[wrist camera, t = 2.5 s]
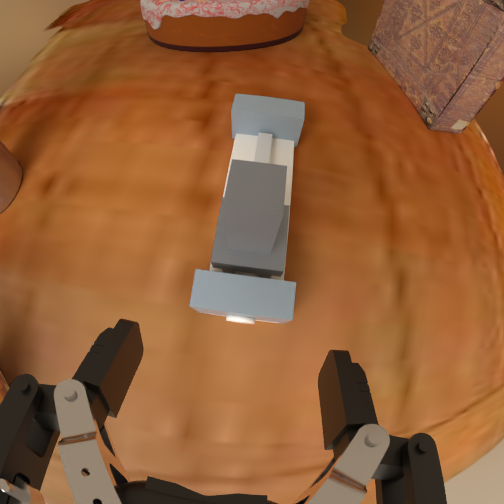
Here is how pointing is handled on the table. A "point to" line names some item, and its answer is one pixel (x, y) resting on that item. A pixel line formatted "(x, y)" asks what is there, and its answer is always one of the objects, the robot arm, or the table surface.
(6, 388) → the candy box
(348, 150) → the table surface
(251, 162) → the block
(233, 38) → the cake
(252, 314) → the rail
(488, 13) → the book
